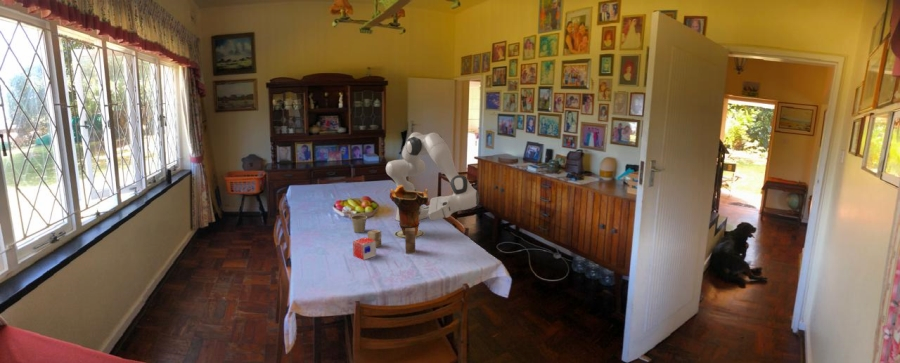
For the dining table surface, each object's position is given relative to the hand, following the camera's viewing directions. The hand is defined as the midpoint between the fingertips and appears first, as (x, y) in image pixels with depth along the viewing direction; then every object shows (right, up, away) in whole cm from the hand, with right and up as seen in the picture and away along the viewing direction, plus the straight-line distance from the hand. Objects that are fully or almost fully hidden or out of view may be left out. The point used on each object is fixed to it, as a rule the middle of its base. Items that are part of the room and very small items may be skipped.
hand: (421, 211), depth 219 cm
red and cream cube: (-29, -23, -2) cm, 36 cm away
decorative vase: (-9, -16, +32) cm, 37 cm away
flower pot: (-39, -15, +36) cm, 55 cm away
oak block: (-26, -19, +12) cm, 35 cm away
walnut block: (-6, -21, +4) cm, 23 cm away
